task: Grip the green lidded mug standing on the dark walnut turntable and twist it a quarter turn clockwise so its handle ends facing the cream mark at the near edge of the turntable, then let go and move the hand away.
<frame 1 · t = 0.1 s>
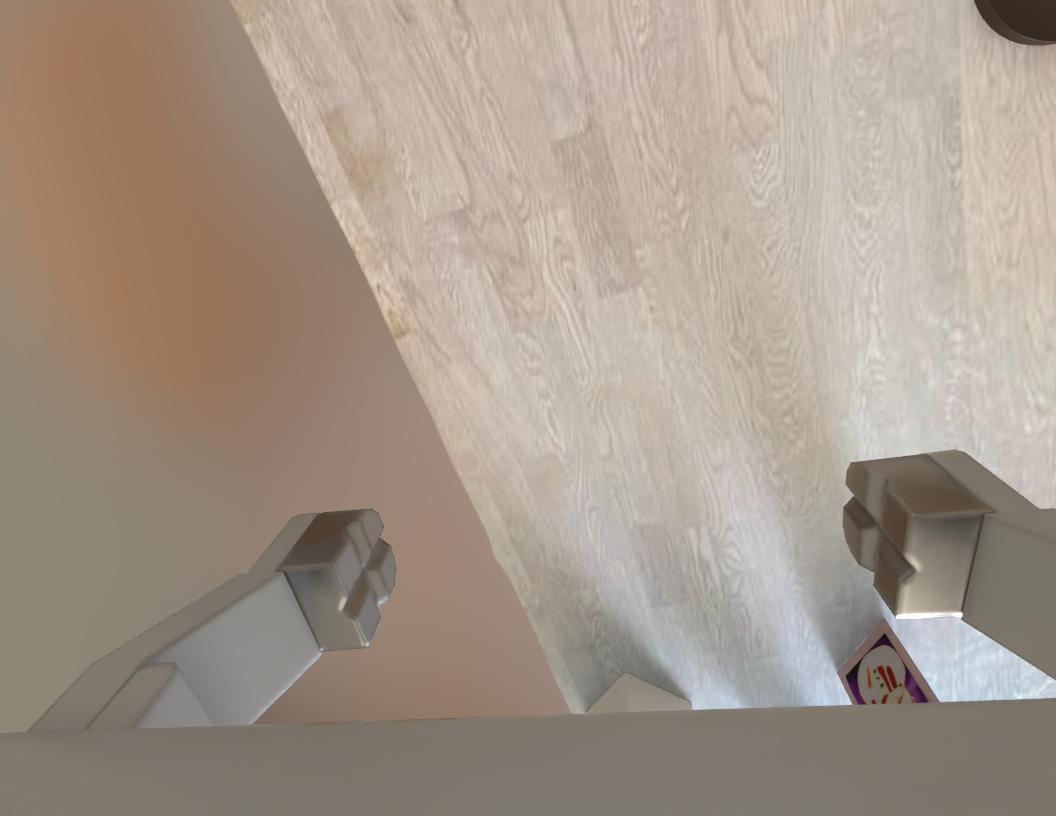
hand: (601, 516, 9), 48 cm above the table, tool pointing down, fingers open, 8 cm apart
milk: (637, 706, 83), on the table
greeting card: (877, 650, 74), on the table
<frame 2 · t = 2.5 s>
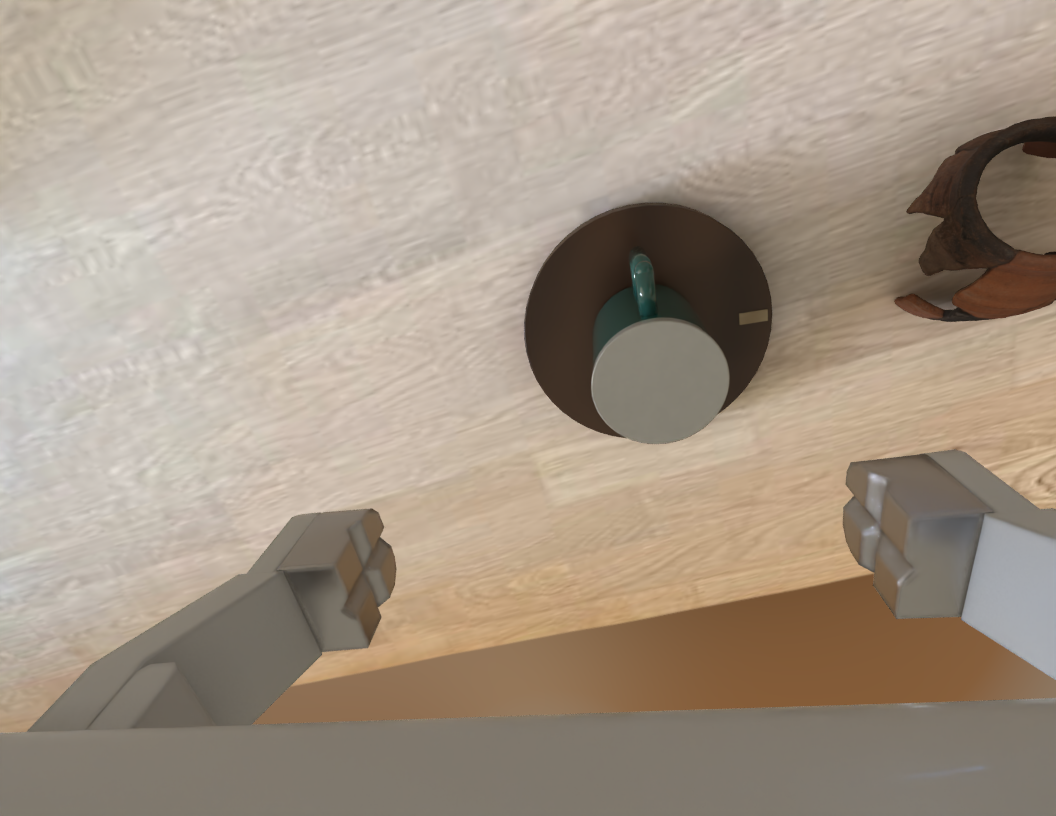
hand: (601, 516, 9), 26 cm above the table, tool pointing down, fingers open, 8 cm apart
green lidded mug: (648, 336, 29), point 6 cm above the table, hinge at 0.0°
brown strap loop: (978, 236, 30), on the table
turntable: (642, 326, 34), on the table
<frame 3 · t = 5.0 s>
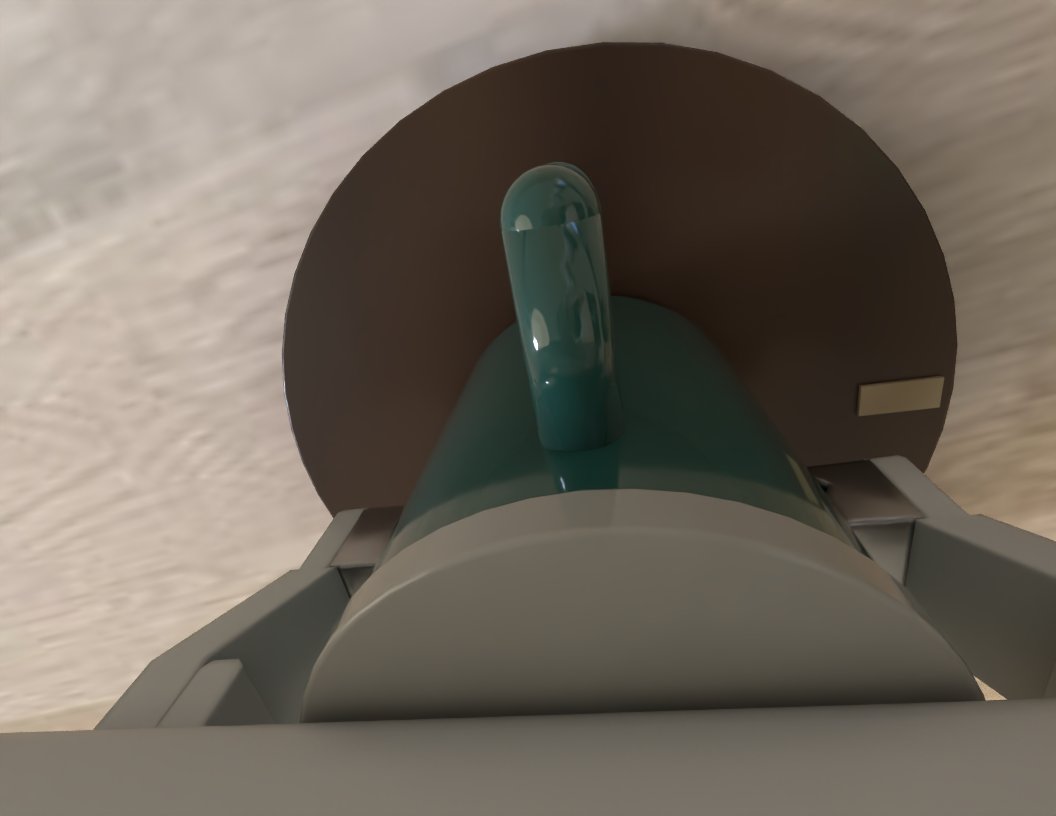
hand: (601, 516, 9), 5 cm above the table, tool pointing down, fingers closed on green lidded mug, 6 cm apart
green lidded mug: (596, 481, 8), point 5 cm above the table, hinge at -0.3°, touching gripper
turntable: (595, 402, 14), on the table
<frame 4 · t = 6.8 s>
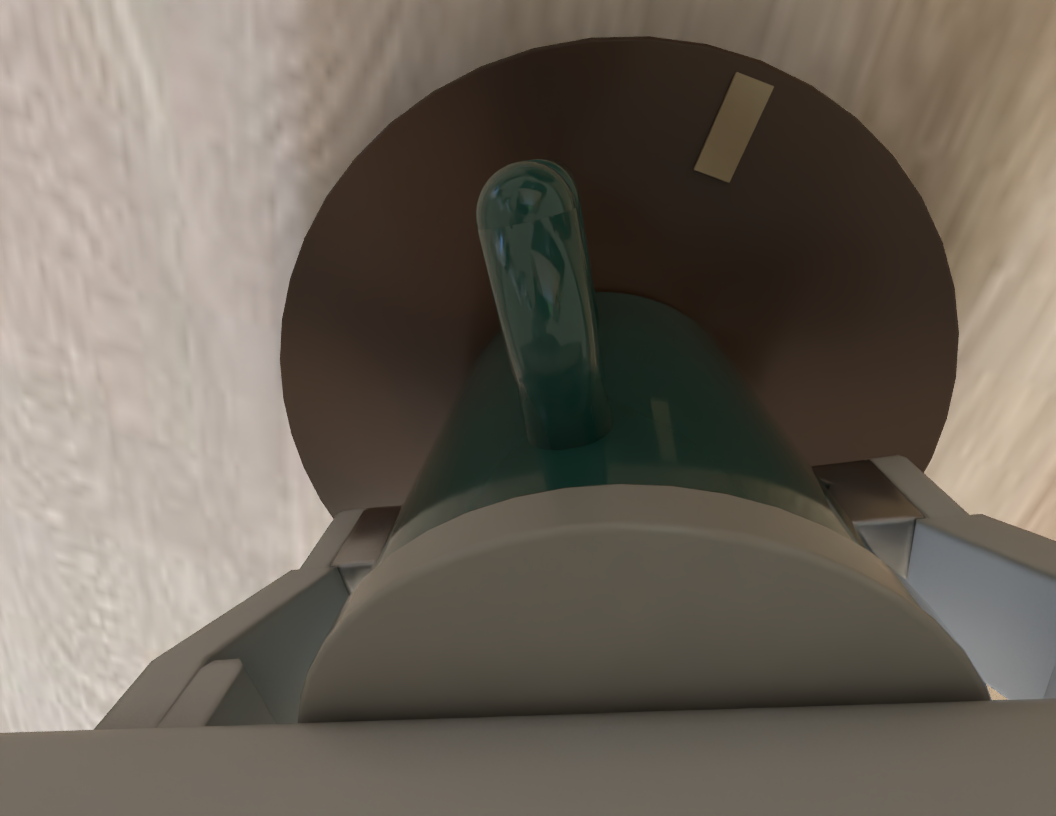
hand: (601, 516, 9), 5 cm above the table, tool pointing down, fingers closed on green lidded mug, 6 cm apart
green lidded mug: (593, 478, 8), point 5 cm above the table, hinge at -59.7°, touching gripper
turntable: (595, 400, 14), on the table
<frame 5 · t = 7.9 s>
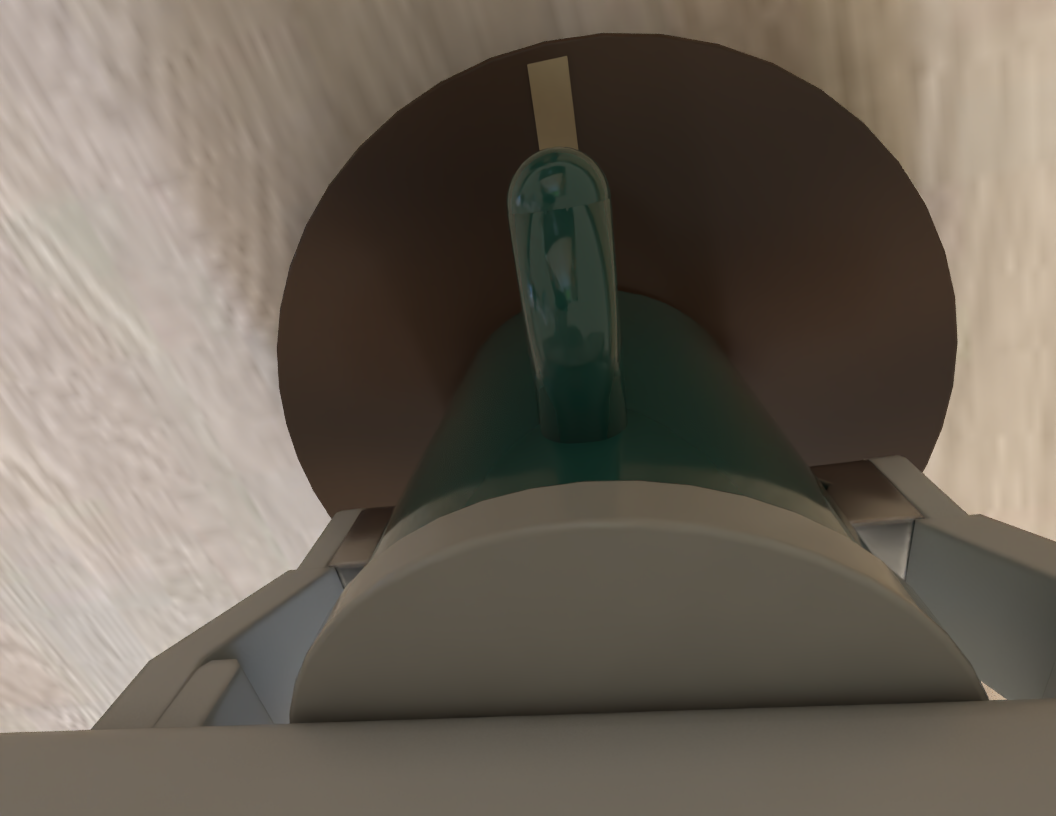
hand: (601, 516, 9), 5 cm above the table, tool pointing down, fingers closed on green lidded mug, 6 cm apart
green lidded mug: (595, 476, 8), point 5 cm above the table, hinge at -91.3°, touching gripper
turntable: (593, 398, 13), on the table
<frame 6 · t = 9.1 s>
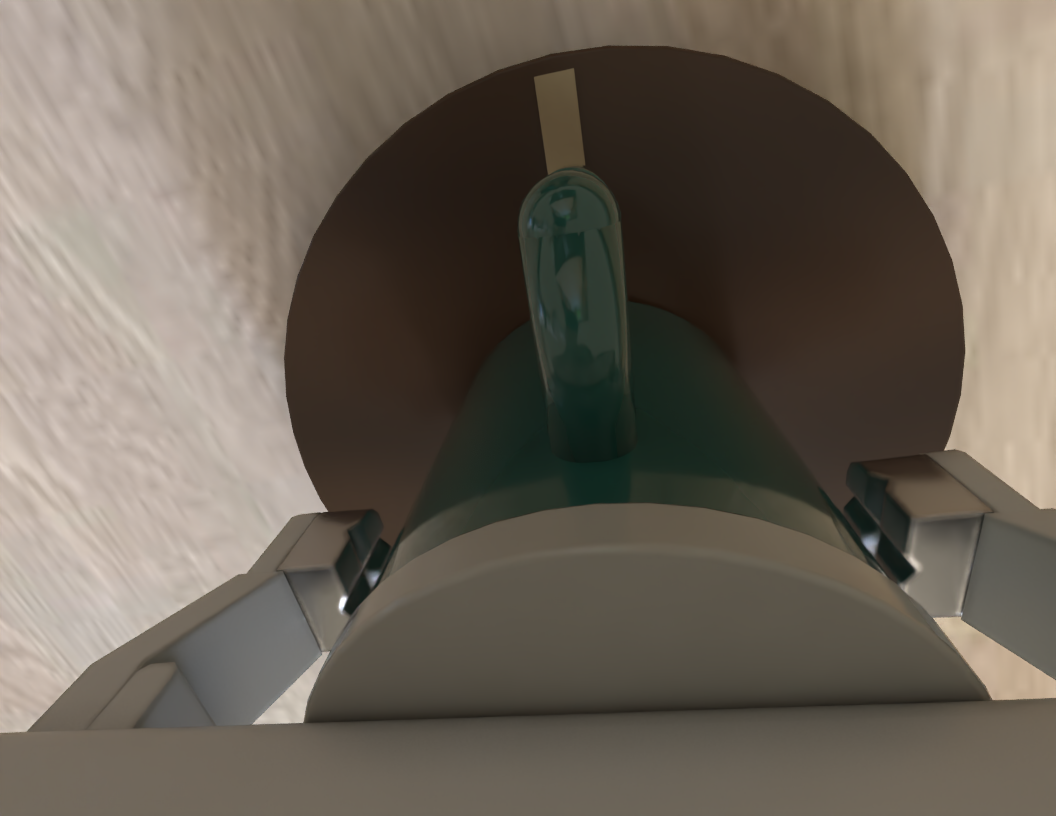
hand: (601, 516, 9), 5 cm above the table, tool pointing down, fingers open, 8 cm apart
green lidded mug: (603, 488, 8), point 5 cm above the table, hinge at -91.2°
turntable: (599, 406, 13), on the table
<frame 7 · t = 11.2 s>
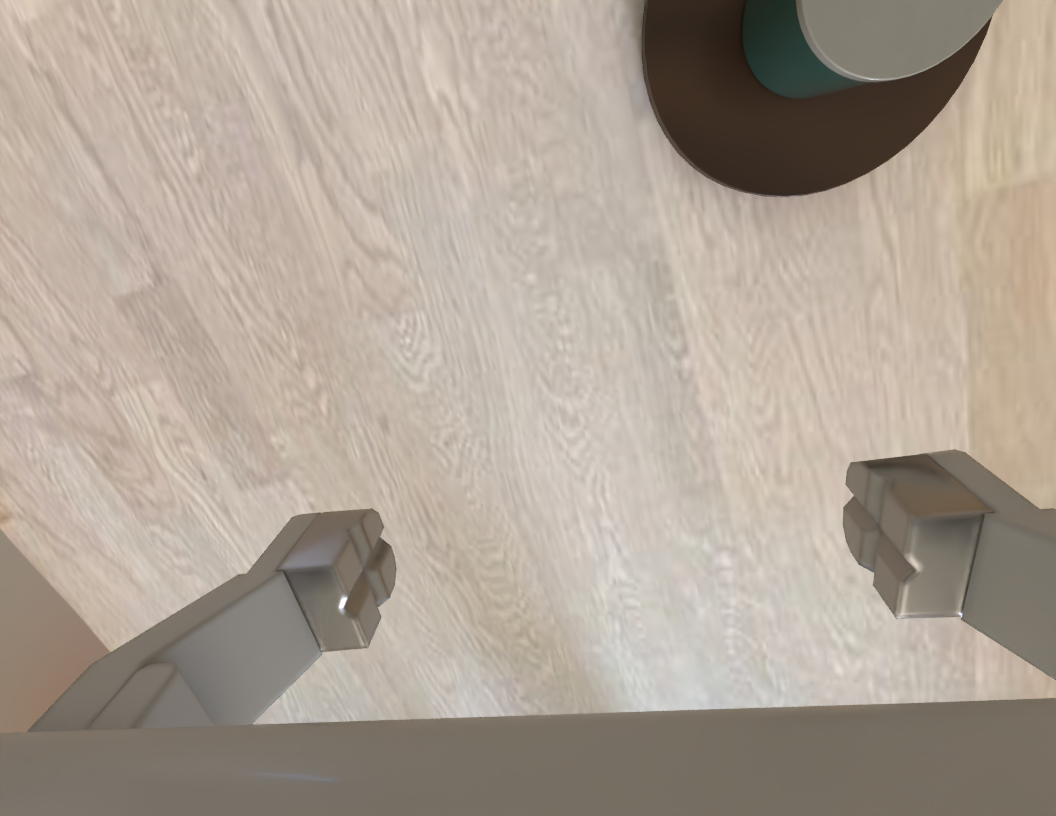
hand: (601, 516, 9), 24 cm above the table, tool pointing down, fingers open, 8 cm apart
turntable: (802, 24, 25), on the table
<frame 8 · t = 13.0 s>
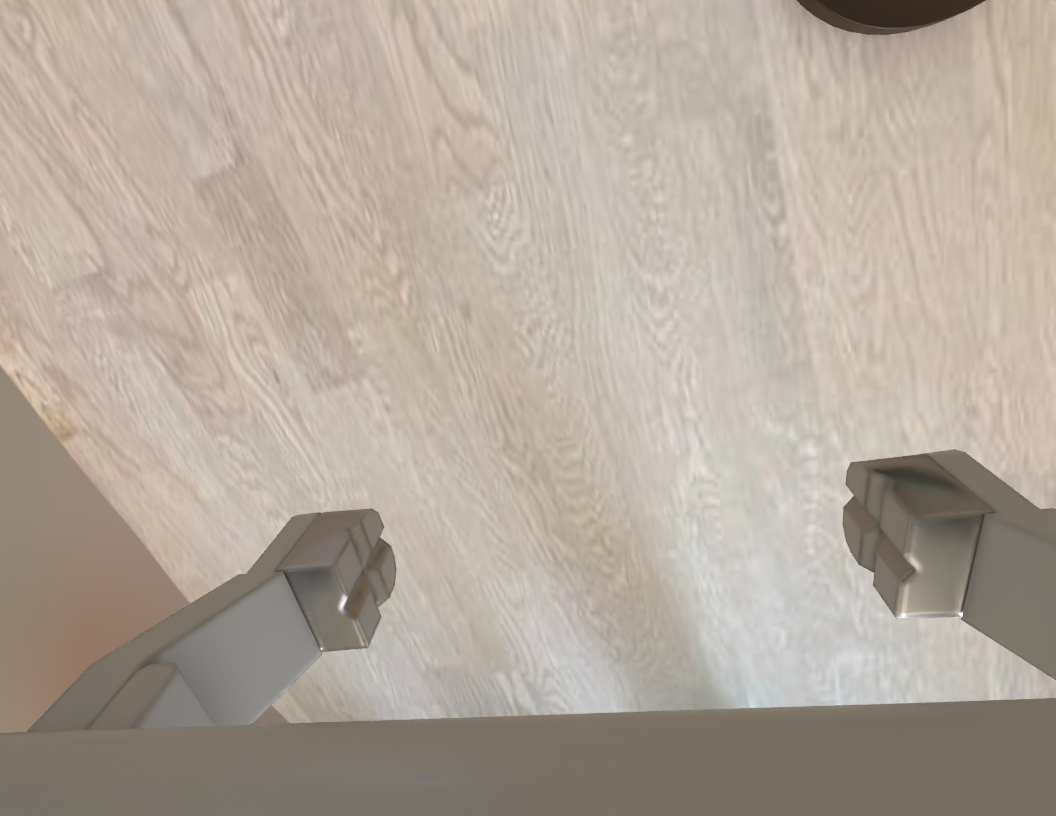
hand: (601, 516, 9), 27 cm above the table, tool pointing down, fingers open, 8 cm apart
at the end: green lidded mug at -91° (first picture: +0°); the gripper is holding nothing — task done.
